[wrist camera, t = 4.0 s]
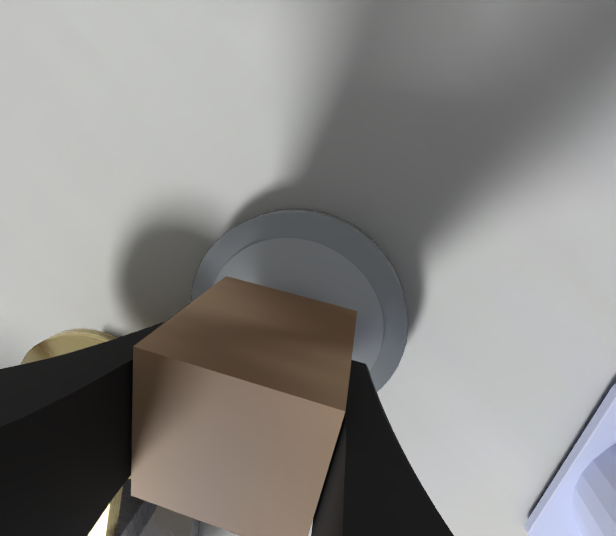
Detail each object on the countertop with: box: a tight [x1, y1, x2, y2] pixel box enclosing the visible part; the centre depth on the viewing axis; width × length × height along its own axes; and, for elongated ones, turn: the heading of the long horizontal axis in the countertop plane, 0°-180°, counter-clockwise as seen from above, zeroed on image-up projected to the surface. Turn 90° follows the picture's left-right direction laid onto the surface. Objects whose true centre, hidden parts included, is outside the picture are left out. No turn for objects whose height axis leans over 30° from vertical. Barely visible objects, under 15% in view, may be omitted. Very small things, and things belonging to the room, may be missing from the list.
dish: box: [191, 209, 408, 392], centre depth 12 cm, size 8×8×1 cm
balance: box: [21, 329, 200, 536], centre depth 14 cm, size 21×6×6 cm, turn 169°
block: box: [131, 276, 357, 536], centre depth 8 cm, size 4×4×4 cm
